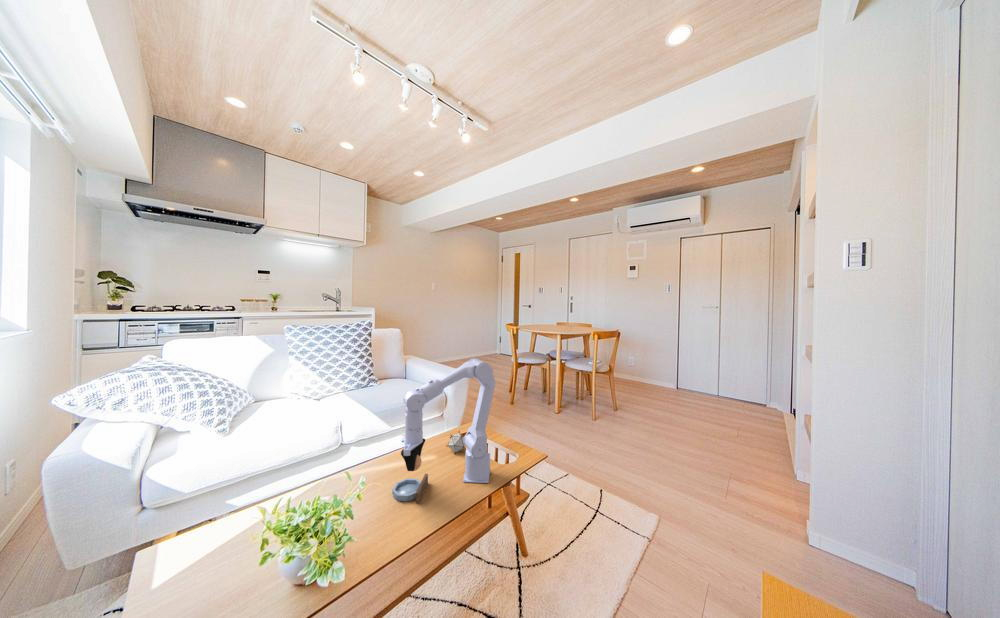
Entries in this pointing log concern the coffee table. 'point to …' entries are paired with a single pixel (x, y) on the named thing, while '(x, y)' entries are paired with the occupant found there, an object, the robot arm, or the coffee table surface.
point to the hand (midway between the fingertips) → (413, 465)
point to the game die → (456, 442)
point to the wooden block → (421, 488)
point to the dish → (405, 489)
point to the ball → (417, 462)
